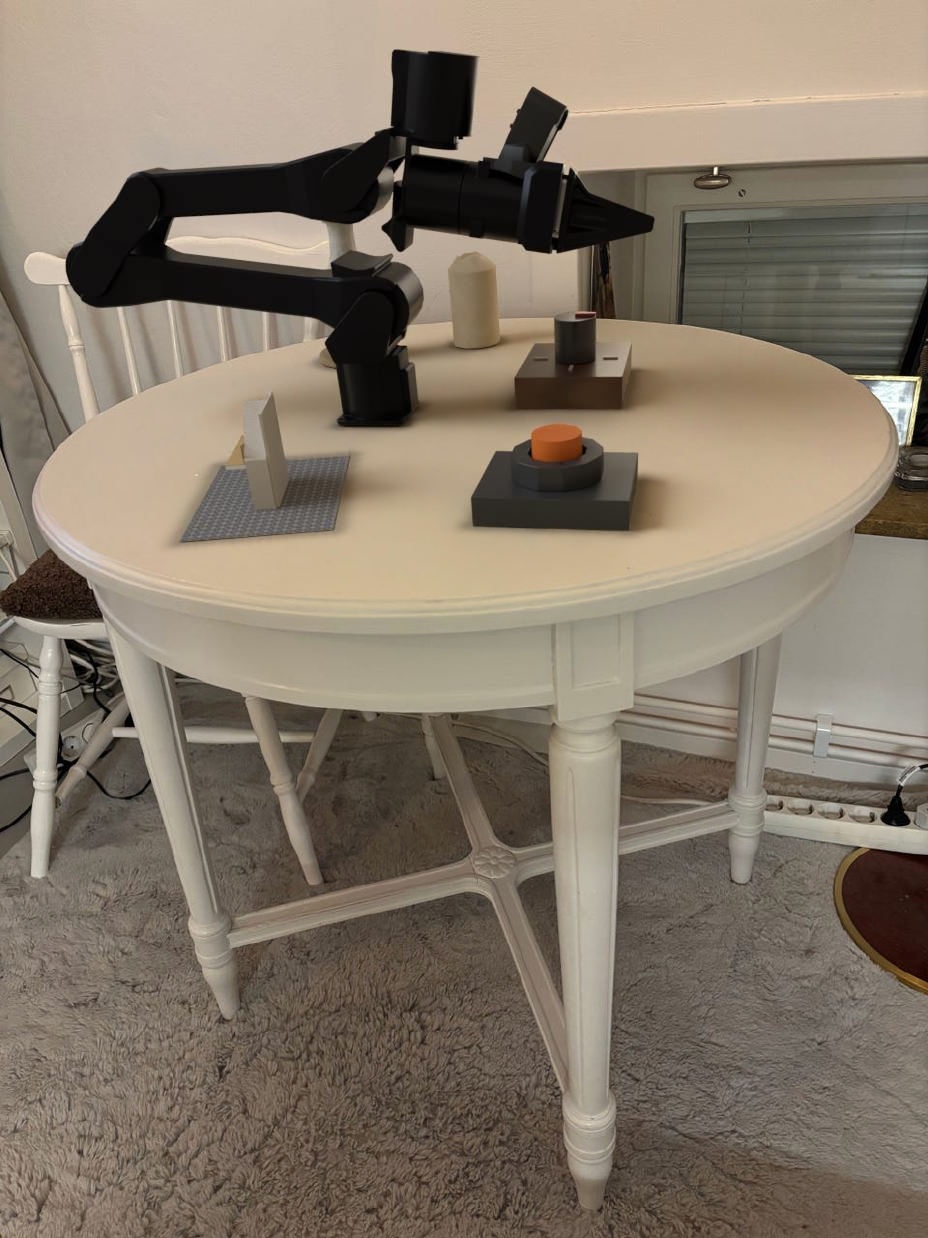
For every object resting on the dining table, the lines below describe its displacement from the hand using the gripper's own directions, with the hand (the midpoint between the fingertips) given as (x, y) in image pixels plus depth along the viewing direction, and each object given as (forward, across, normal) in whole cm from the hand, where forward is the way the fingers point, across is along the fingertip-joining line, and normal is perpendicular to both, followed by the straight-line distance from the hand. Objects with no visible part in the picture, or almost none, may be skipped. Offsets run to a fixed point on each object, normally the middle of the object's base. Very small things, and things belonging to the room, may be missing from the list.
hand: (651, 224), depth 74 cm
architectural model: (-26, -15, +24) cm, 38 cm away
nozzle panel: (-4, +10, +16) cm, 19 cm away
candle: (-17, +28, +15) cm, 36 cm away
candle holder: (-30, +24, +18) cm, 42 cm away
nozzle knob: (-4, +9, +13) cm, 16 cm away
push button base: (-3, -17, +20) cm, 26 cm away
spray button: (-4, -18, +16) cm, 24 cm away
